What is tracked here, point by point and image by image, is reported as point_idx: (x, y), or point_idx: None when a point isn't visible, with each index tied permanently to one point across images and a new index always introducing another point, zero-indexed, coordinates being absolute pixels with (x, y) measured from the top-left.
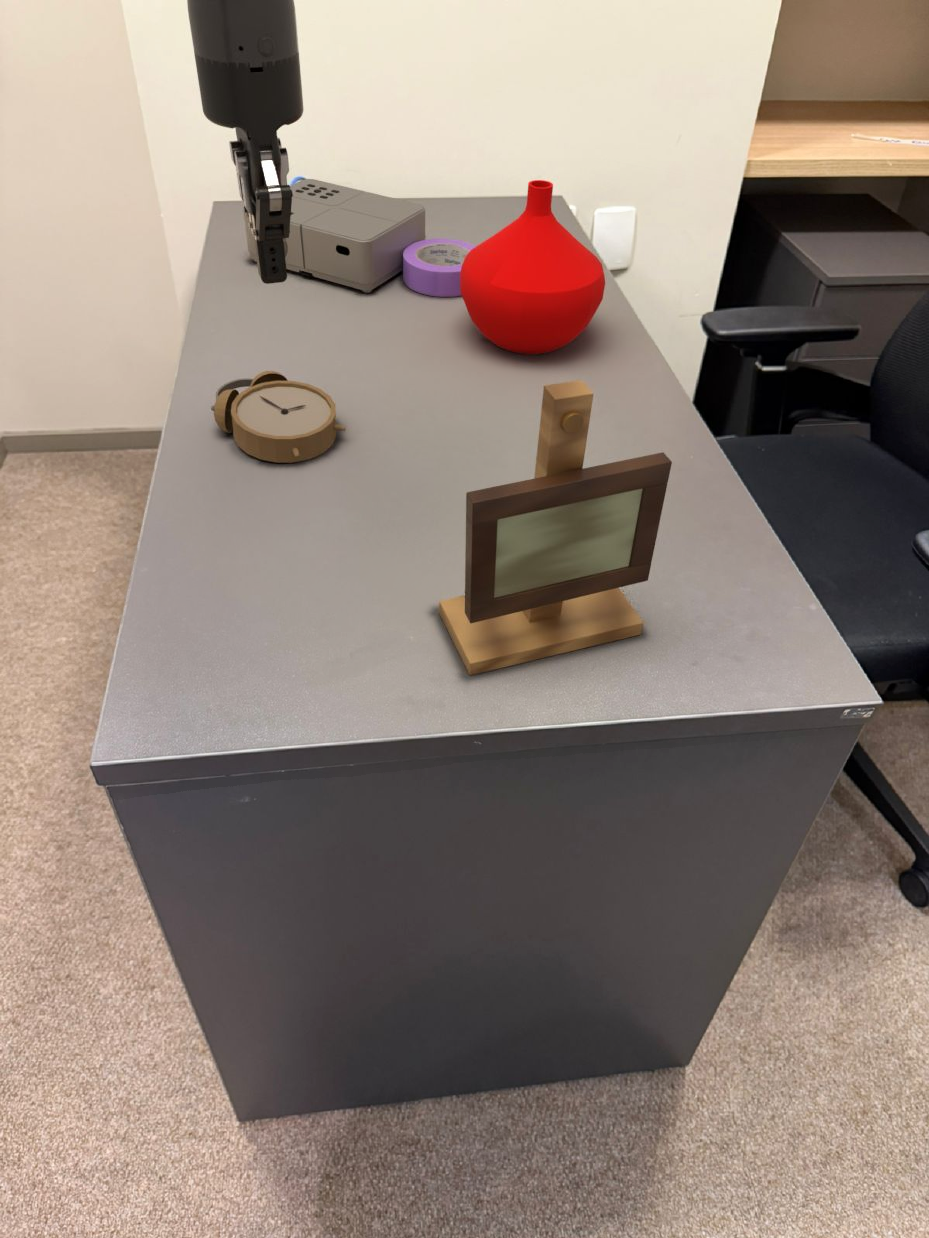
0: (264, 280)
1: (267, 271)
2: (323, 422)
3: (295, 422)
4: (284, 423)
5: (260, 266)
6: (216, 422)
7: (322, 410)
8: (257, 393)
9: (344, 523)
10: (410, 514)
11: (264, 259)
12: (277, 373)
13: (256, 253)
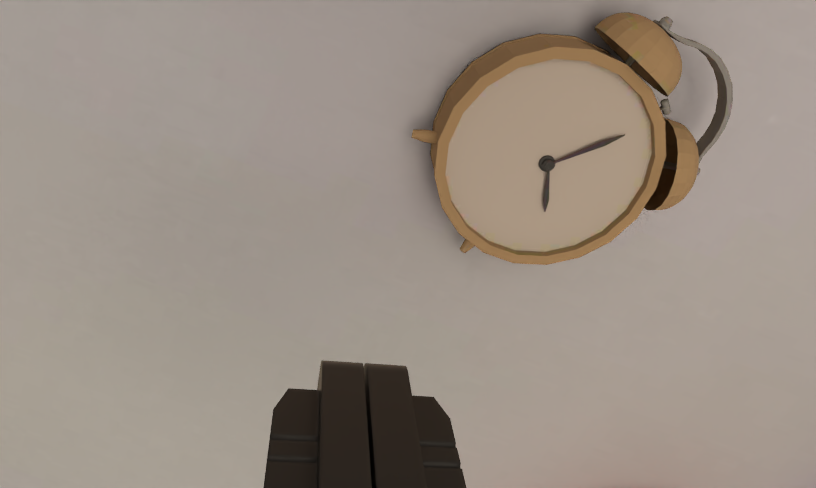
0: (320, 372)
1: (272, 425)
2: (476, 221)
3: (501, 170)
4: (508, 148)
5: (320, 415)
6: (620, 13)
7: (517, 234)
8: (642, 134)
9: (196, 140)
10: (184, 255)
11: (285, 469)
12: (667, 199)
13: (400, 450)
